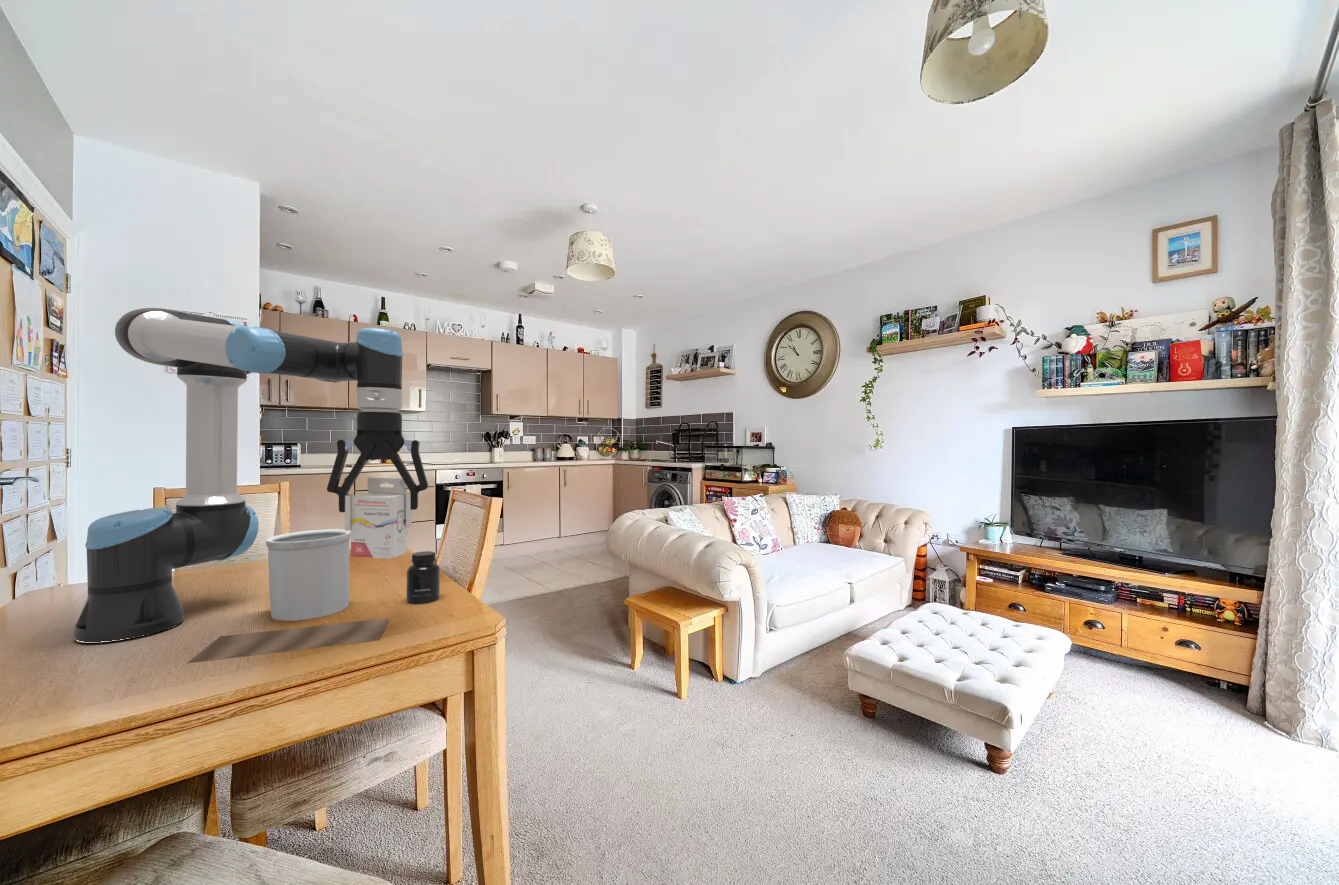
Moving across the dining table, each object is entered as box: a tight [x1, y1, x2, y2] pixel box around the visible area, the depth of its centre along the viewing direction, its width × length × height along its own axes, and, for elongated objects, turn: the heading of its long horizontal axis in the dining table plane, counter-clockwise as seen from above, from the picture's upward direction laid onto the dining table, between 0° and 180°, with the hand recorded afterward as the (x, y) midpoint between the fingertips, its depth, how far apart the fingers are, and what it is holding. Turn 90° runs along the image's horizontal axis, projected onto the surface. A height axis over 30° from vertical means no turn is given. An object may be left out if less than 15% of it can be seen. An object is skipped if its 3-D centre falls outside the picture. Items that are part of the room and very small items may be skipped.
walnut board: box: [186, 617, 391, 664], centre depth 95 cm, size 28×12×2 cm, turn 110°
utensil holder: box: [265, 528, 351, 622], centre depth 110 cm, size 15×15×18 cm
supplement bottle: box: [406, 550, 441, 605], centre depth 117 cm, size 7×7×12 cm
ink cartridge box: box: [350, 477, 408, 560], centre depth 99 cm, size 9×5×15 cm, turn 85°
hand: (379, 527), depth 99 cm, fingers closed on ink cartridge box, 9 cm apart
